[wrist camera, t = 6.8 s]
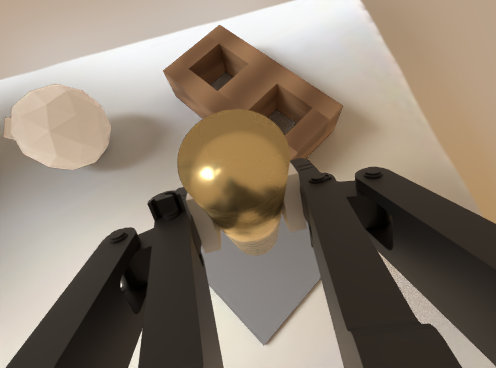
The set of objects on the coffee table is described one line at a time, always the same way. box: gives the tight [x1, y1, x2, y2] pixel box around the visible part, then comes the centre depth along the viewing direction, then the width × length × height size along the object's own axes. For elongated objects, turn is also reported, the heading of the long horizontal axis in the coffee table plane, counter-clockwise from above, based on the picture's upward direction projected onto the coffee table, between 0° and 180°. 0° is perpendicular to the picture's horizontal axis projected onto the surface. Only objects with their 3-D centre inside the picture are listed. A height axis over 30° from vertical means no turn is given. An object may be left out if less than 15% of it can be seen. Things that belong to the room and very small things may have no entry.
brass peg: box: [178, 109, 290, 256], centre depth 13 cm, size 3×3×12 cm
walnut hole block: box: [163, 25, 343, 160], centre depth 31 cm, size 18×9×4 cm, turn 46°
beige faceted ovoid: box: [3, 84, 111, 170], centre depth 30 cm, size 9×9×12 cm
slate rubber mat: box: [201, 214, 321, 345], centre depth 27 cm, size 12×12×1 cm
